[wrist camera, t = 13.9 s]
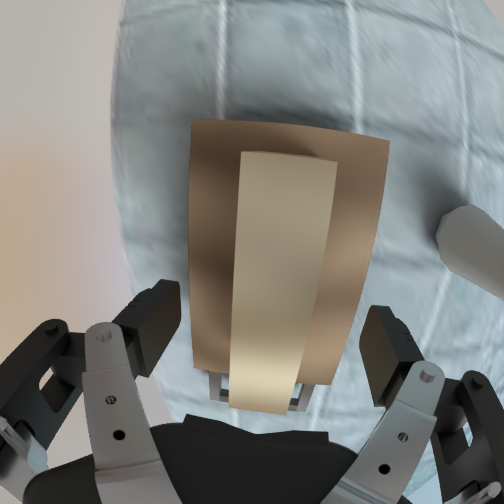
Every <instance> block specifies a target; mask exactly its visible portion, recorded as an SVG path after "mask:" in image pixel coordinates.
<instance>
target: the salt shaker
mask: <svg viewBox="0 0 504 504" xmlns="http://www.w3.org/2000/svg"><path fill="white" fill-rule="evenodd" d="M435 237H436V240H437V243H438V247H439V252H440V258H441V259H442V261H443V262H444V263H445V265H446V266H447V268H448V269H449V270H450V271H451V272H453V273H455V274H457V275H459V276H461V277H463V278H464V279H466V280H468V281H470V282H472V283H473V284H475V285H477V286H479V287H481V288H482V289H484V290H486V291H488V292H489V293H491V294H493V295H495V296H496V297H498V298H500V299H501V300H503V301H504V229H503V228H502V227H501V226H500V225H498V224H497V223H496V222H495V221H494V220H493V219H492V218H491V217H490V216H489V215H488V214H486V213H485V212H484V211H483V210H481V209H480V208H478V207H476V206H474V205H466V206H461V207H458V208H456V209H454V210H453V211H451V212H449V213H447V214H445V215H443V216H442V217H441V220H440V223H439V226H438V229H437V232H436V234H435Z"/></svg>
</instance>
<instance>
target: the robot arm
mask: <svg viewBox="0 0 504 504" xmlns="http://www.w3.org/2000/svg"><path fill="white" fill-rule="evenodd" d="M180 321H181V299H180V285H179V282H177V281H171V280H164V279H161V280H159V281H158V283H157V284H156V285H155V286H154V287H153V288H152V289H150V288H148V289H146V290H144V291H142V292H140V293H138V295H137V296H136V297H135V298H134V299H133V301H131V302H130V303H129V304H128V306H126V307H125V308H124V309H123V310H122V311H121V312H120V313H119V314H118V316H116V318H115V319H114V320H113V321H112V322H102V323H98V324H95V325H93V326H91V327H90V328H89V329H88V330H87V331H86V333H75V332H69V329H68V326H67V323H66V322H65V321H63V320H61V319H51V320H47V321H45V322H43V323H41V324H40V325H39V326H38V327H37V328H36V329H35V330H34V331H33V332H32V333H31V334H30V335H29V336H28V337H27V338H26V339H25V340H24V341H23V342H22V343H21V344H20V345H19V346H18V347H17V348H16V349H15V350H14V351H13V352H12V353H11V354H10V355H9V356H8V357H7V358H6V359H5V361H3V363H2V364H1V365H0V485H1V486H3V487H4V488H5V489H7V490H8V491H9V492H10V493H11V494H12V495H14V496H15V497H16V498H17V499H19V500H20V501H21V502H22V503H23V504H412V503H411V502H410V501H409V500H408V499H407V498H405V497H404V496H403V495H402V494H403V492H404V490H405V489H406V487H407V485H408V483H409V481H410V479H411V477H412V476H413V474H414V472H415V470H416V468H417V466H418V463H419V461H420V459H421V457H422V455H423V453H424V450H425V448H426V446H427V444H428V441H429V439H430V440H431V444H432V448H433V453H434V457H435V462H436V467H437V472H438V477H439V483H440V489H441V496H442V502H443V504H504V409H503V407H502V405H501V403H500V401H499V399H498V397H497V395H496V393H495V391H494V389H493V387H492V385H491V384H490V382H489V380H488V379H487V377H486V376H485V375H483V374H482V373H480V372H478V371H474V370H470V371H467V372H465V374H464V375H463V377H462V378H461V380H454V379H449V378H445V375H444V373H443V371H442V370H441V368H440V367H438V366H437V365H436V364H434V363H432V362H429V361H425V360H424V358H423V356H422V354H421V352H420V350H419V348H418V346H417V344H416V342H415V341H414V339H413V337H412V335H410V334H411V333H410V331H409V329H408V328H407V326H406V325H405V324H404V323H403V322H402V321H401V320H400V319H399V318H395V316H394V314H393V313H392V311H391V309H390V307H389V306H379V305H372V306H371V307H370V309H369V311H368V314H367V318H366V321H365V324H364V327H363V330H362V333H361V336H360V341H359V348H360V352H361V356H362V360H363V363H364V367H365V371H366V375H367V378H368V382H369V386H370V390H371V394H372V399H373V403H374V407H384V406H385V408H386V411H385V413H384V414H383V416H382V417H381V419H380V421H379V422H378V424H377V425H376V427H375V428H374V430H373V431H372V433H371V434H370V436H369V437H368V439H367V440H366V441H365V443H364V444H363V446H362V447H361V448H360V450H359V451H358V452H357V454H356V453H355V452H354V451H352V450H350V449H349V448H347V447H344V446H342V445H340V444H337V443H334V442H330V441H329V437H328V432H320V431H297V430H292V431H285V432H276V433H266V434H254V433H251V432H248V431H245V430H242V429H240V428H237V427H234V426H232V425H229V424H227V423H224V422H222V421H218V420H213V419H208V418H203V417H198V416H194V415H190V414H186V416H185V419H184V421H183V423H167V424H161V425H157V426H154V427H151V428H150V426H149V423H148V420H147V418H146V415H145V412H144V409H143V406H142V402H141V399H140V396H139V393H138V390H137V386H136V383H135V379H136V377H137V376H138V375H140V376H143V377H147V378H148V377H149V376H150V374H151V373H152V371H153V369H154V367H155V366H156V364H157V362H158V361H159V359H160V357H161V356H162V354H163V352H164V350H165V349H166V347H167V345H168V344H169V342H170V340H171V339H172V337H173V335H174V334H175V332H176V330H177V329H178V327H179V325H180ZM50 367H51V369H52V371H53V375H52V376H51V377H50V379H49V380H48V381H47V382H46V384H45V385H44V387H43V388H42V389H41V390H40V389H39V382H40V380H41V378H42V377H43V375H44V374H45V373H46V372H47V370H48V369H49V368H50ZM82 392H83V394H84V404H85V411H86V419H87V425H88V431H89V437H90V442H91V447H92V452H93V454H90V455H88V456H85V457H83V458H80V459H77V460H75V461H72V462H69V463H67V464H64V465H61V466H58V467H55V468H52V469H49V468H48V465H47V453H46V450H47V449H48V447H49V445H50V443H51V442H52V440H53V438H54V437H55V435H56V433H57V432H58V430H59V428H60V427H61V425H62V423H63V422H64V420H65V419H66V417H67V415H68V414H69V412H70V410H71V409H72V407H73V406H74V404H75V403H76V401H77V399H78V398H79V396H80V395H81V393H82ZM467 421H468V423H469V426H470V429H471V432H472V436H473V439H472V443H471V445H470V447H469V446H468V443H467V440H466V437H465V434H464V431H463V428H462V427H463V426H464V424H465V423H466V422H467Z"/></svg>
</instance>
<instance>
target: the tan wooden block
mask: <svg viewBox="0 0 504 504" xmlns="http://www.w3.org/2000/svg"><path fill="white" fill-rule="evenodd" d="M389 144H390V141H388V140H383V139H379V138H374V137H370V136H365V135H360V134H354V133H349V132H343V131H337V130H331V129H325V128H318V127H310V126H302V125H293V124H283V123H272V122H259V121H240V120H192V131H191V148H190V169H189V205H188V259H189V295H190V317H191V334H192V349H193V362H194V368H198V369H203V370H208V371H209V386H210V399H211V400H216V401H222V402H227V403H229V407H230V408H236V409H243V410H250V411H257V412H265V413H274V414H284V415H286V413H287V410H289V411H302V412H305V411H306V409H307V406H308V404H309V401H310V398H311V395H312V393H313V390H314V387H315V384H318V385H331V383H332V380H333V378H334V375H335V373H336V370H337V367H338V365H339V362H340V359H341V356H342V354H343V351H344V348H345V345H346V342H347V339H348V336H349V333H350V330H351V327H352V324H353V320H354V317H355V314H356V311H357V307H358V304H359V300H360V297H361V293H362V290H363V286H364V282H365V278H366V274H367V271H368V266H369V262H370V258H371V254H372V249H373V245H374V240H375V236H376V231H377V226H378V220H379V215H380V210H381V204H382V198H383V191H384V185H385V178H386V170H387V162H388V154H389ZM221 373H224V374H230V375H229V390H226V389H221ZM295 383H303V384H302V387H301V390H300V394H299V397H298V399H297V398H291V396H292V393H293V389H294V386H295Z"/></svg>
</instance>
